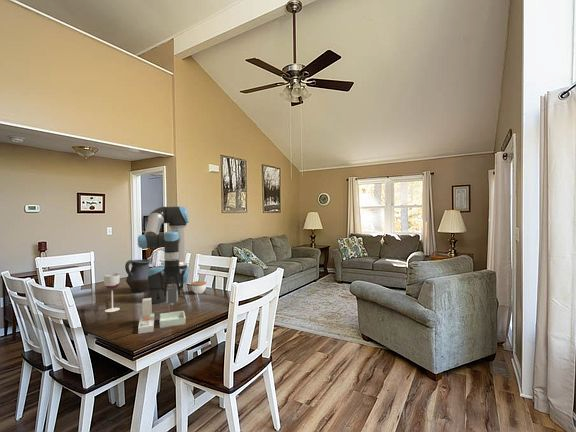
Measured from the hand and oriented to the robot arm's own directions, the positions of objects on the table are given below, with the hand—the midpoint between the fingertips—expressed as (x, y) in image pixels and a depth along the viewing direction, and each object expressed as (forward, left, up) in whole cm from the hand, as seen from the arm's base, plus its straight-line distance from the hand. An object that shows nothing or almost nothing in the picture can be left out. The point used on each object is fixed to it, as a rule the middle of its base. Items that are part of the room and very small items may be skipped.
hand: (172, 301), depth 168 cm
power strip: (-11, -7, -12) cm, 18 cm away
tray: (0, 0, -12) cm, 12 cm away
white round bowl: (-26, +53, -12) cm, 60 cm away
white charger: (-14, -5, -9) cm, 17 cm away
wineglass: (-50, +1, -12) cm, 52 cm away
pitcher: (-71, +39, -12) cm, 82 cm away
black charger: (0, 0, -2) cm, 2 cm away
